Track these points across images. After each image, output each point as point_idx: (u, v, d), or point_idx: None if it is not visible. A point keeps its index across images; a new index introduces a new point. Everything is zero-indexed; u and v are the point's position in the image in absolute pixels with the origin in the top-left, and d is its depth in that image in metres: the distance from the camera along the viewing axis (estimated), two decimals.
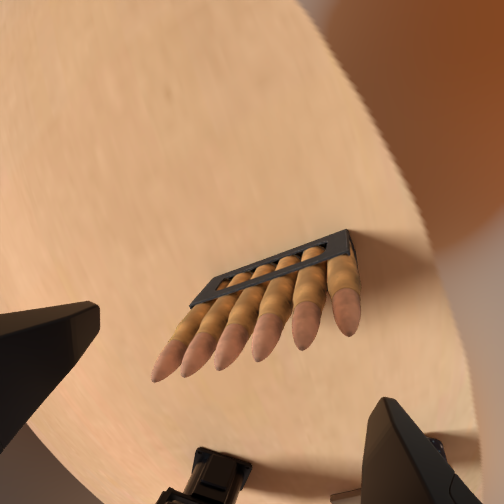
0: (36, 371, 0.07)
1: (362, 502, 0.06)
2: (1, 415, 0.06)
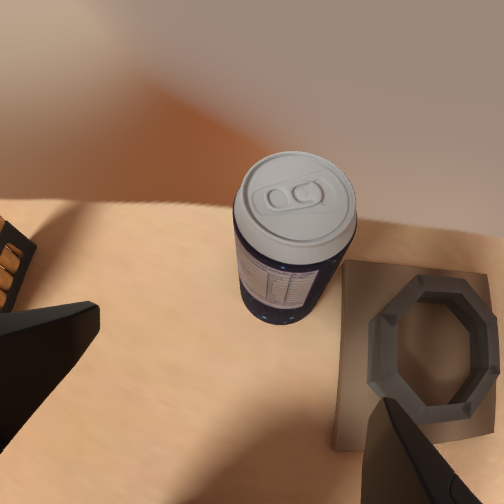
0: (36, 371, 0.07)
1: (362, 502, 0.06)
2: (1, 415, 0.06)
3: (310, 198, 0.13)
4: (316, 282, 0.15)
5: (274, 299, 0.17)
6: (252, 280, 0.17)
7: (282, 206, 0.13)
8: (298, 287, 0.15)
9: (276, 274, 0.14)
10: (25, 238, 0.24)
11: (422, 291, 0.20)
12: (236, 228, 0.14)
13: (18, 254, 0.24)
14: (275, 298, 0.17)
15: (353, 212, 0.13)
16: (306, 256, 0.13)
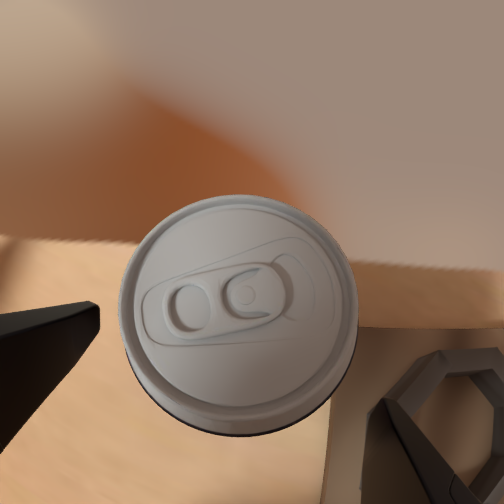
0: (36, 371, 0.07)
1: (362, 502, 0.06)
2: (1, 415, 0.06)
3: (260, 306, 0.06)
4: None
5: None
6: None
7: (199, 326, 0.06)
8: None
9: None
10: None
11: (443, 374, 0.13)
12: (126, 351, 0.07)
13: None
14: None
15: (351, 338, 0.06)
16: (247, 426, 0.06)
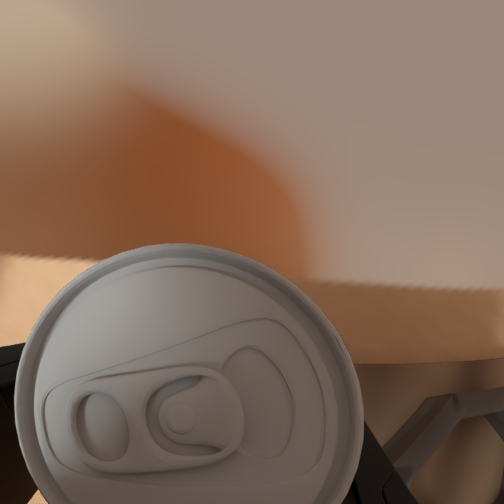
0: None
1: None
2: None
3: (203, 438, 0.03)
4: None
5: None
6: None
7: (114, 455, 0.03)
8: None
9: None
10: None
11: (456, 421, 0.10)
12: None
13: None
14: None
15: (346, 487, 0.03)
16: None
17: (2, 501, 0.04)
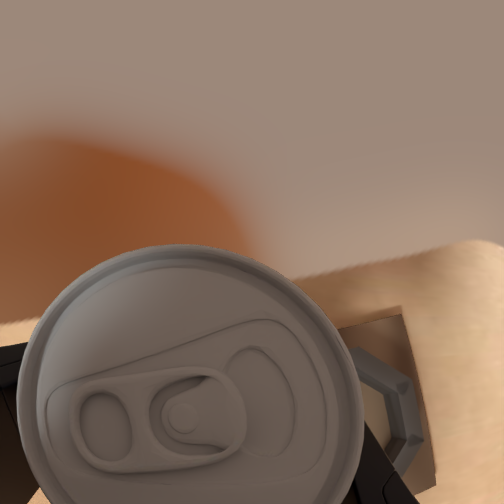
0: None
1: None
2: None
3: (206, 437, 0.04)
4: None
5: None
6: None
7: (118, 455, 0.03)
8: None
9: None
10: None
11: None
12: None
13: None
14: None
15: (347, 485, 0.03)
16: None
17: (2, 501, 0.04)
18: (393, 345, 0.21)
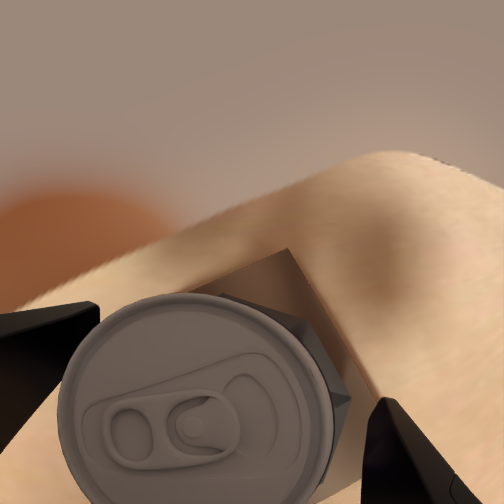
0: (36, 371, 0.07)
1: (362, 502, 0.06)
2: (1, 415, 0.06)
3: (209, 442, 0.05)
4: None
5: None
6: None
7: (142, 456, 0.04)
8: None
9: None
10: None
11: None
12: None
13: None
14: None
15: (316, 480, 0.04)
16: None
17: None
18: (285, 287, 0.19)
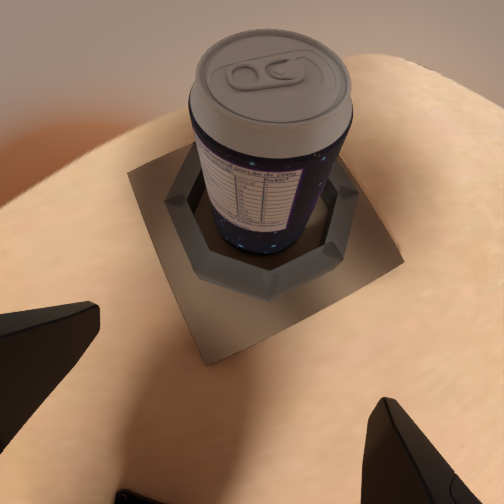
0: (36, 371, 0.07)
1: (362, 502, 0.06)
2: (1, 415, 0.06)
3: (289, 75, 0.09)
4: (300, 191, 0.12)
5: (248, 218, 0.14)
6: (218, 192, 0.13)
7: (251, 84, 0.09)
8: (277, 197, 0.12)
9: (245, 176, 0.10)
10: None
11: None
12: (191, 117, 0.10)
13: None
14: (249, 216, 0.13)
15: (348, 93, 0.09)
16: (283, 146, 0.09)
17: None
18: None
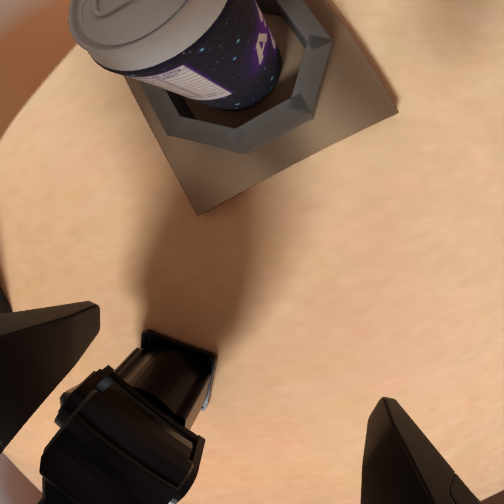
0: (36, 371, 0.07)
1: (362, 502, 0.06)
2: (1, 415, 0.06)
3: None
4: (208, 73, 0.10)
5: (185, 94, 0.13)
6: None
7: (111, 6, 0.07)
8: (186, 83, 0.10)
9: (141, 79, 0.09)
10: None
11: None
12: None
13: None
14: (184, 94, 0.12)
15: None
16: (146, 57, 0.08)
17: None
18: None
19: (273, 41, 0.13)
